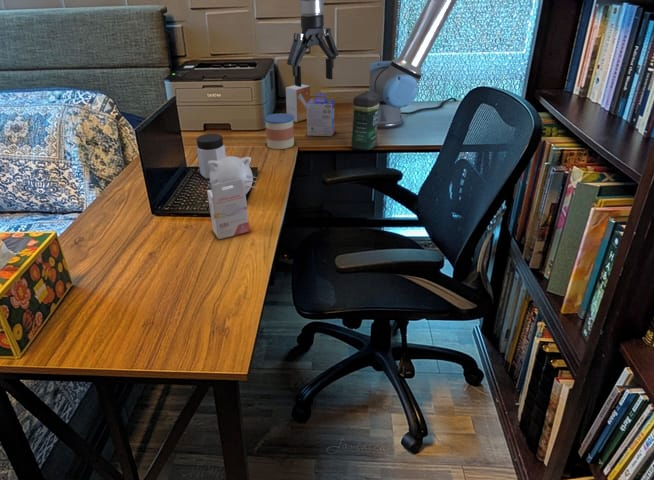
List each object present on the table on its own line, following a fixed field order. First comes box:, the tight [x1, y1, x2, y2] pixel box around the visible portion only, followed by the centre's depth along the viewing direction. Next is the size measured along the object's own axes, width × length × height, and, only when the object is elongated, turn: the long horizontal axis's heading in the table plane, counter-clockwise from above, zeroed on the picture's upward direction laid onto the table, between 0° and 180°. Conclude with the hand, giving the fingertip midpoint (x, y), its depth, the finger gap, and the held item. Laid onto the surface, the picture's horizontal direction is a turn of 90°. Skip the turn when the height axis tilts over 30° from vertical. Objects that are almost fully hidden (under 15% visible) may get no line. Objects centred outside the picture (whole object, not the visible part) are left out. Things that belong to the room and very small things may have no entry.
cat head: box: [206, 155, 260, 196], centre depth 143 cm, size 15×13×12 cm
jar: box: [195, 133, 227, 180], centre depth 158 cm, size 9×8×12 cm
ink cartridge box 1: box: [206, 179, 250, 240], centre depth 124 cm, size 9×5×15 cm, turn 114°
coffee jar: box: [351, 90, 380, 151], centre depth 171 cm, size 10×8×19 cm
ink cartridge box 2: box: [306, 93, 335, 137], centre depth 186 cm, size 10×6×14 cm, turn 78°
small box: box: [285, 83, 311, 123], centre depth 204 cm, size 8×6×13 cm
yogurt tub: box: [264, 112, 295, 150], centre depth 180 cm, size 10×10×10 cm
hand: (314, 82), depth 173 cm, fingers open, 13 cm apart
